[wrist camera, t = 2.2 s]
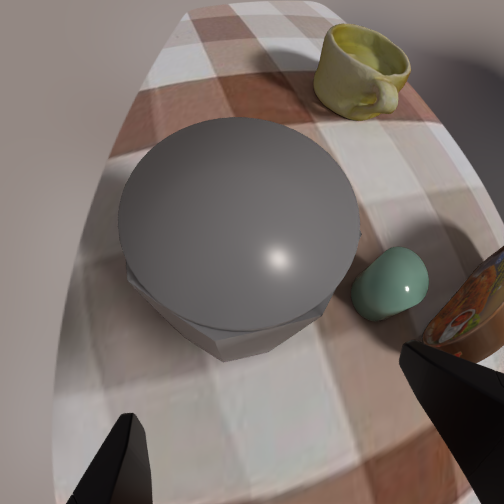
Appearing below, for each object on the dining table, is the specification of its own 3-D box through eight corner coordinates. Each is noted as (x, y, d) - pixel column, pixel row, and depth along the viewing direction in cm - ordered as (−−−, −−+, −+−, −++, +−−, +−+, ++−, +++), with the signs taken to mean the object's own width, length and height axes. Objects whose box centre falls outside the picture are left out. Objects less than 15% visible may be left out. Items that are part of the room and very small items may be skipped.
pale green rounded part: (402, 284, 22) (433, 263, 18) (388, 329, 21) (420, 316, 17) (360, 262, 23) (386, 236, 19) (343, 307, 21) (369, 289, 17)
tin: (487, 253, 24) (541, 214, 17) (501, 277, 23) (558, 244, 16) (402, 348, 20) (476, 327, 12) (421, 379, 19) (498, 369, 12)
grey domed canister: (270, 248, 23) (312, 110, 11) (298, 344, 20) (394, 291, 8) (172, 267, 21) (118, 137, 10) (192, 368, 19) (131, 352, 7)
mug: (300, 50, 31) (342, -2, 22) (367, 87, 34) (416, 48, 25) (284, 122, 29) (339, 64, 19) (365, 161, 32) (430, 124, 22)
